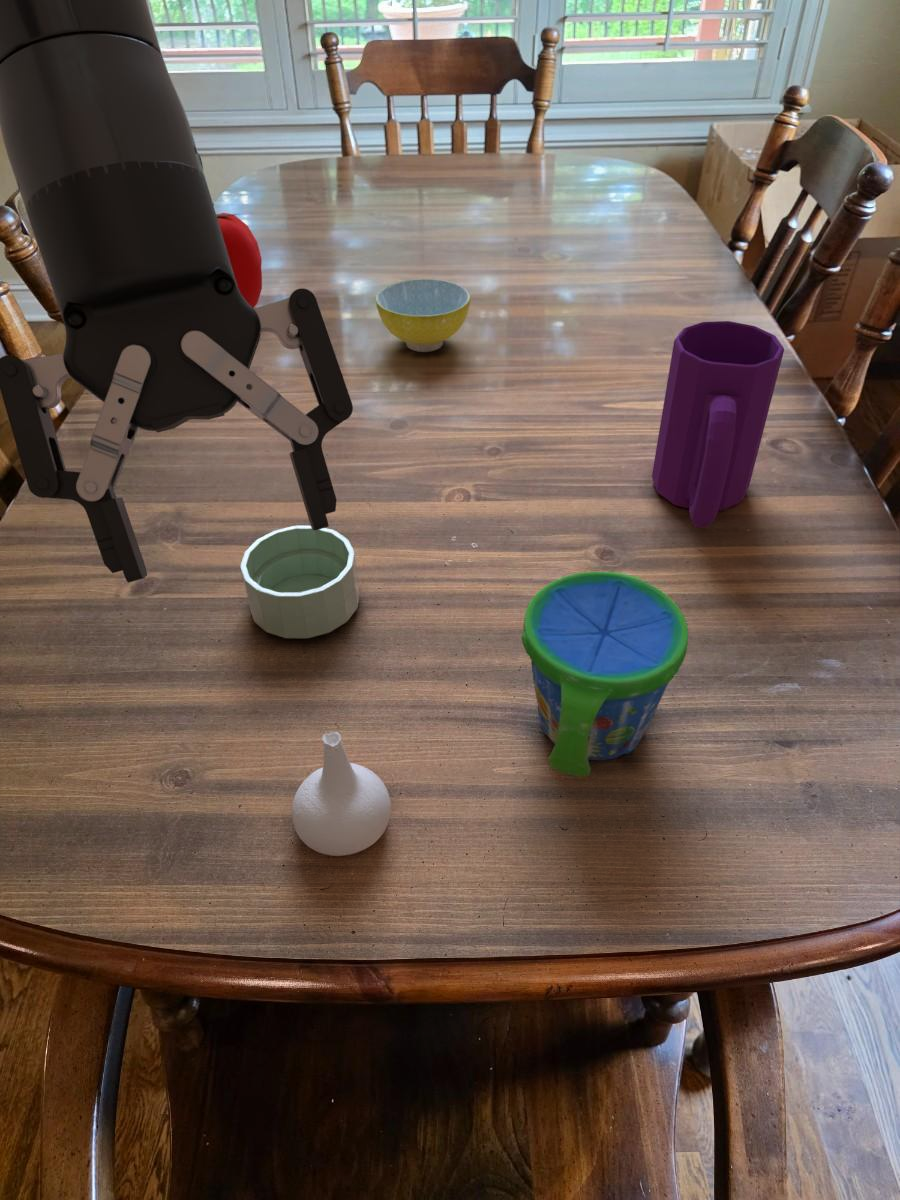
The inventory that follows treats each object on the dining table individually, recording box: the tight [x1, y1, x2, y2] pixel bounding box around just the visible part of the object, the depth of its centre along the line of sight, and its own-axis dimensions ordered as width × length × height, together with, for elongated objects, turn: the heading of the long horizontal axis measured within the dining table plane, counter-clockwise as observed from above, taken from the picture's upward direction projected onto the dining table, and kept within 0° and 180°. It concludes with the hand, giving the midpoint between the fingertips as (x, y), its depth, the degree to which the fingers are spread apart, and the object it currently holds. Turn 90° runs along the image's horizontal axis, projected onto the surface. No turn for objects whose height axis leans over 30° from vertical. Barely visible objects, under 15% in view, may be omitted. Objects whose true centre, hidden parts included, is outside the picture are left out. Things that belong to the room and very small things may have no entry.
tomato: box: [213, 202, 263, 309], centre depth 113 cm, size 12×12×13 cm
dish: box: [239, 524, 361, 639], centre depth 71 cm, size 9×9×5 cm
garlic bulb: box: [291, 731, 392, 857], centre depth 54 cm, size 6×6×8 cm
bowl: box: [375, 278, 471, 353], centre depth 107 cm, size 11×12×6 cm
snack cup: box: [521, 571, 689, 777], centre depth 59 cm, size 16×10×10 cm
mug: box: [651, 320, 785, 529], centre depth 77 cm, size 9×16×15 cm, turn 167°
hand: (231, 553), depth 40 cm, fingers open, 8 cm apart
